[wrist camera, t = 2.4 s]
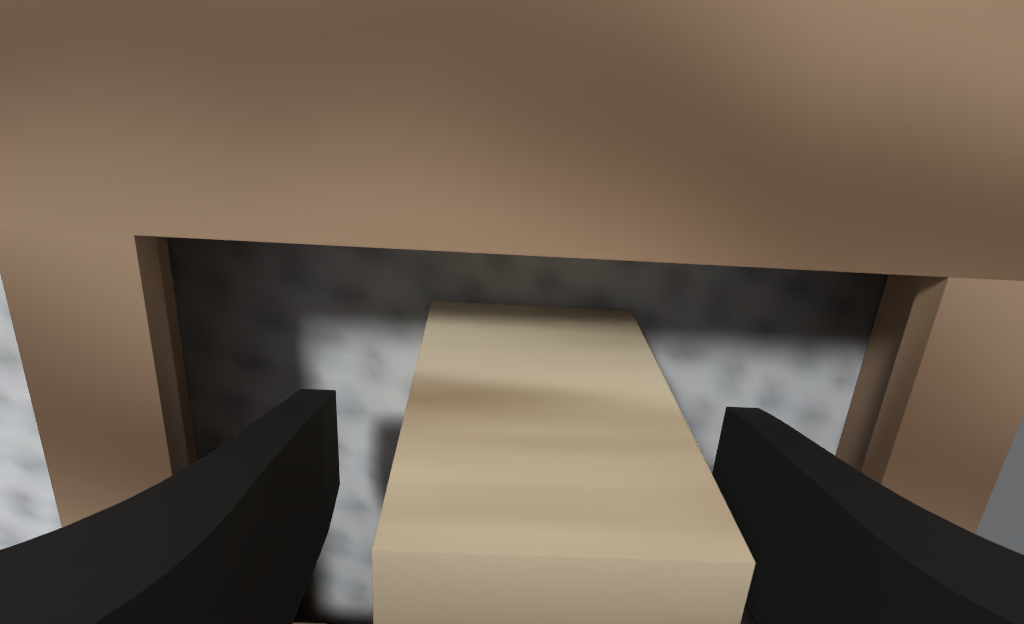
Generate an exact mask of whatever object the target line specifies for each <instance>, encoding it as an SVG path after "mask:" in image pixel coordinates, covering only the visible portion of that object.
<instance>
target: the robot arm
mask: <svg viewBox="0 0 1024 624" xmlns="http://www.w3.org/2000/svg"><path fill="white" fill-rule="evenodd" d="M712 475H713V477H714V479H715V482H716V484H717V486H718V488H719V490H720V492H721V494H722V496H723V498H724V500H725V502H726V504H727V506H728V508H729V510H730V512H731V514H732V516H733V518H734V520H735V522H736V524H737V526H738V528H739V530H740V532H741V534H742V536H743V538H744V540H745V542H746V544H747V546H748V548H749V550H750V552H751V554H752V557H753V559H754V561H755V563H756V564H755V567H754V571H753V575H752V579H751V583H750V587H749V591H748V595H747V599H746V603H747V605H748V607H749V609H750V612H751V614H752V616H753V618H754V620H755V623H756V624H1024V555H1023V554H1020V553H1018V552H1015V551H1013V550H1011V549H1008V548H1006V547H1004V546H1001V545H999V544H996V543H994V542H992V541H990V540H987V539H985V538H983V537H981V536H979V535H976V534H974V533H972V532H970V531H968V530H966V529H964V528H962V527H960V526H958V525H956V524H954V523H952V522H950V521H948V520H946V519H944V518H942V517H940V516H938V515H936V514H934V513H932V512H930V511H928V510H926V509H924V508H922V507H920V506H918V505H916V504H914V503H913V502H911V501H909V500H907V499H905V498H904V497H902V496H900V495H898V494H897V493H895V492H893V491H892V490H890V489H888V488H886V487H885V486H883V485H881V484H880V483H878V482H876V481H874V480H873V479H871V478H869V477H868V476H866V475H865V474H863V473H861V472H860V471H858V470H856V469H855V468H853V467H852V466H850V465H848V464H847V463H845V462H844V461H842V460H841V459H839V458H838V457H836V456H834V455H833V454H831V453H830V452H828V451H827V450H825V449H824V448H822V447H821V446H819V445H818V444H816V443H815V442H813V441H812V440H810V439H808V438H807V437H805V436H804V435H802V434H801V433H799V432H798V431H796V430H795V429H793V428H792V427H790V426H789V425H787V424H785V423H784V422H782V421H781V420H779V419H777V418H776V417H774V416H772V415H771V414H769V413H767V412H765V411H763V410H761V409H759V408H742V407H726V411H725V416H724V421H723V425H722V430H721V435H720V440H719V444H718V449H717V454H716V459H715V463H714V468H713V473H712ZM339 485H340V478H339V456H338V433H337V411H336V390H316V389H301V390H299V391H298V392H296V393H295V394H293V395H292V396H290V397H289V398H287V399H286V400H285V401H283V402H282V403H281V404H279V405H278V406H276V407H275V408H274V409H272V410H271V411H270V412H268V413H267V414H265V415H264V416H263V417H261V418H260V419H259V420H257V421H256V422H254V423H253V424H252V425H250V426H249V427H247V428H246V429H244V430H243V431H242V432H240V433H239V434H237V435H236V436H235V437H233V438H232V439H230V440H229V441H227V442H226V443H224V444H222V445H221V446H219V447H218V448H216V449H215V450H213V451H211V452H210V453H208V454H207V455H205V456H204V457H202V458H200V459H199V460H197V461H196V462H194V463H193V464H191V465H189V466H188V467H186V468H185V469H183V470H181V471H179V472H178V473H176V474H174V475H172V476H171V477H169V478H167V479H165V480H163V481H162V482H160V483H158V484H156V485H154V486H152V487H150V488H148V489H146V490H144V491H142V492H140V493H138V494H136V495H135V496H133V497H131V498H129V499H126V500H124V501H122V502H120V503H118V504H116V505H113V506H111V507H109V508H106V509H104V510H102V511H99V512H97V513H95V514H93V515H90V516H88V517H86V518H83V519H81V520H79V521H76V522H74V523H72V524H69V525H67V526H65V527H62V528H60V529H57V530H55V531H52V532H50V533H47V534H44V535H41V536H39V537H36V538H33V539H31V540H28V541H25V542H23V543H20V544H17V545H14V546H11V547H8V548H5V549H2V550H0V624H292V623H293V621H294V618H295V616H296V613H297V611H298V608H299V606H300V603H301V601H302V598H303V596H304V593H305V590H306V588H307V585H308V583H309V580H310V578H311V575H312V573H313V570H314V568H315V565H316V562H317V560H318V557H319V555H320V552H321V549H322V547H323V544H324V542H325V539H326V536H327V534H328V530H329V526H330V523H331V519H332V515H333V511H334V507H335V502H336V498H337V494H338V489H339Z"/></svg>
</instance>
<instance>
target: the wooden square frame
mask: <svg viewBox="0 0 1024 624" xmlns="http://www.w3.org/2000/svg"><path fill="white" fill-rule="evenodd" d="M167 237H177V238H197V239H216V240H235V241H255V242H274V243H294V244H313V245H332V246H352V247H371V248H390V249H410V250H429V251H449V252H468V253H487V254H507V255H526V256H546V257H565V258H584V259H604V260H623V261H643V262H662V263H681V264H701V265H720V266H740V267H759V268H778V269H798V270H817V271H837V272H856V273H875V274H888V278H887V281H886V284H885V288H884V291H883V295H882V298H881V302H880V305H879V308H878V312H877V315H876V319H875V322H874V326H873V329H872V333H871V336H870V339H869V343H868V346H867V350H866V353H865V357H864V360H863V364H862V367H861V370H860V374H859V377H858V381H857V384H856V388H855V391H854V395H853V398H852V401H851V405H850V408H849V412H848V415H847V419H846V422H845V425H844V429H843V432H842V436H841V439H840V443H839V446H838V450H837V453H836V457H838V458H839V459H841V460H842V461H844V462H845V463H847V464H848V465H850V466H852V467H853V468H855V469H856V470H858V471H860V472H861V473H863V474H865V475H866V476H868V477H869V478H871V479H873V480H874V481H876V482H878V483H880V484H881V485H883V486H885V487H886V488H888V489H890V490H892V491H893V492H895V493H897V494H898V495H900V496H902V497H904V498H905V499H907V500H909V501H911V502H913V503H914V504H916V505H918V506H920V507H922V508H924V509H926V510H928V511H930V512H932V513H934V514H936V515H938V516H940V517H942V518H944V519H946V520H948V521H950V522H952V523H954V524H956V525H958V526H960V527H962V528H964V529H966V530H968V531H970V532H972V533H974V534H975V533H976V530H977V528H978V525H979V523H980V520H981V518H982V515H983V513H984V510H985V508H986V506H987V503H988V501H989V498H990V496H991V493H992V491H993V488H994V486H995V483H996V481H997V478H998V476H999V473H1000V471H1001V469H1002V466H1003V464H1004V461H1005V459H1006V456H1007V454H1008V451H1009V449H1010V446H1011V444H1012V441H1013V439H1014V437H1015V434H1016V432H1017V429H1018V427H1019V424H1020V422H1021V419H1022V417H1023V414H1024V0H0V274H1V278H2V282H3V286H4V290H5V294H6V299H7V303H8V307H9V311H10V315H11V319H12V323H13V327H14V331H15V336H16V340H17V344H18V348H19V352H20V356H21V360H22V364H23V369H24V373H25V377H26V381H27V385H28V389H29V393H30V397H31V401H32V406H33V410H34V414H35V418H36V422H37V426H38V430H39V434H40V439H41V443H42V447H43V451H44V455H45V459H46V463H47V467H48V471H49V476H50V480H51V484H52V488H53V492H54V496H55V500H56V504H57V509H58V513H59V517H60V521H61V525H62V527H65V526H67V525H69V524H72V523H74V522H76V521H79V520H81V519H83V518H86V517H88V516H90V515H93V514H95V513H97V512H99V511H102V510H104V509H106V508H109V507H111V506H113V505H116V504H118V503H120V502H122V501H124V500H126V499H129V498H131V497H133V496H135V495H136V494H138V493H140V492H142V491H144V490H146V489H148V488H150V487H152V486H154V485H156V484H158V483H160V482H162V481H163V480H165V479H167V478H169V477H171V476H172V475H174V474H176V473H178V472H179V471H181V470H183V469H185V468H186V467H188V466H189V465H191V464H193V463H194V462H196V461H197V460H198V457H197V450H196V443H195V436H194V429H193V421H192V414H191V407H190V400H189V393H188V386H187V379H186V371H185V364H184V357H183V350H182V343H181V336H180V329H179V321H178V314H177V307H176V300H175V293H174V286H173V279H172V271H171V264H170V257H169V250H168V243H167ZM292 624H325V623H292Z"/></svg>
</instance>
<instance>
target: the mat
mask: <svg viewBox="0 0 1024 624" xmlns="http://www.w3.org/2000/svg"><path fill="white" fill-rule="evenodd" d="M975 534H976V535H979V536H981V537H983V538H985V539H987V540H990V541H992V542H994V543H996V544H999V545H1001V546H1004V547H1006V548H1008V549H1011V550H1013V551H1015V552H1018V553H1020V554H1023V555H1024V414H1023V417H1022V419H1021V422H1020V424H1019V427H1018V429H1017V432H1016V434H1015V437H1014V439H1013V441H1012V444H1011V446H1010V449H1009V451H1008V454H1007V456H1006V459H1005V461H1004V464H1003V466H1002V469H1001V471H1000V473H999V476H998V478H997V481H996V483H995V486H994V488H993V491H992V493H991V496H990V498H989V501H988V503H987V506H986V508H985V510H984V513H983V515H982V518H981V520H980V523H979V525H978V528H977V530H976V533H975Z"/></svg>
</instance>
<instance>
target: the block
mask: <svg viewBox="0 0 1024 624" xmlns="http://www.w3.org/2000/svg"><path fill="white" fill-rule="evenodd" d="M755 564H756V563H755V561H754V559H753V557H752V554H751V552H750V550H749V548H748V546H747V544H746V542H745V540H744V538H743V536H742V534H741V532H740V530H739V528H738V526H737V524H736V522H735V520H734V518H733V516H732V514H731V512H730V510H729V508H728V506H727V504H726V502H725V500H724V498H723V496H722V494H721V492H720V490H719V488H718V486H717V484H716V482H715V479H714V477H713V475H712V473H711V471H710V469H709V467H708V465H707V463H706V461H705V459H704V457H703V455H702V453H701V451H700V449H699V447H698V445H697V443H696V441H695V439H694V437H693V435H692V433H691V431H690V429H689V427H688V425H687V423H686V421H685V419H684V417H683V415H682V413H681V411H680V409H679V406H678V404H677V402H676V400H675V398H674V396H673V394H672V392H671V390H670V388H669V386H668V384H667V382H666V380H665V378H664V376H663V374H662V372H661V370H660V368H659V366H658V364H657V362H656V360H655V358H654V356H653V354H652V352H651V350H650V348H649V346H648V344H647V342H646V340H645V338H644V336H643V334H642V331H641V329H640V327H639V325H638V323H637V321H636V319H635V317H634V315H633V313H632V311H631V310H613V309H593V308H572V307H552V306H531V305H511V304H491V303H470V302H450V301H432V302H431V306H430V310H429V314H428V319H427V323H426V327H425V331H424V335H423V339H422V344H421V348H420V352H419V356H418V360H417V364H416V369H415V373H414V377H413V381H412V385H411V389H410V394H409V398H408V402H407V406H406V410H405V414H404V418H403V423H402V427H401V431H400V435H399V439H398V443H397V448H396V452H395V456H394V460H393V464H392V468H391V473H390V477H389V481H388V485H387V489H386V493H385V498H384V502H383V506H382V510H381V514H380V518H379V523H378V527H377V531H376V535H375V539H374V543H373V548H372V582H373V624H740V622H741V618H742V615H743V611H744V607H745V603H746V599H747V595H748V591H749V587H750V583H751V579H752V575H753V571H754V567H755Z"/></svg>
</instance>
